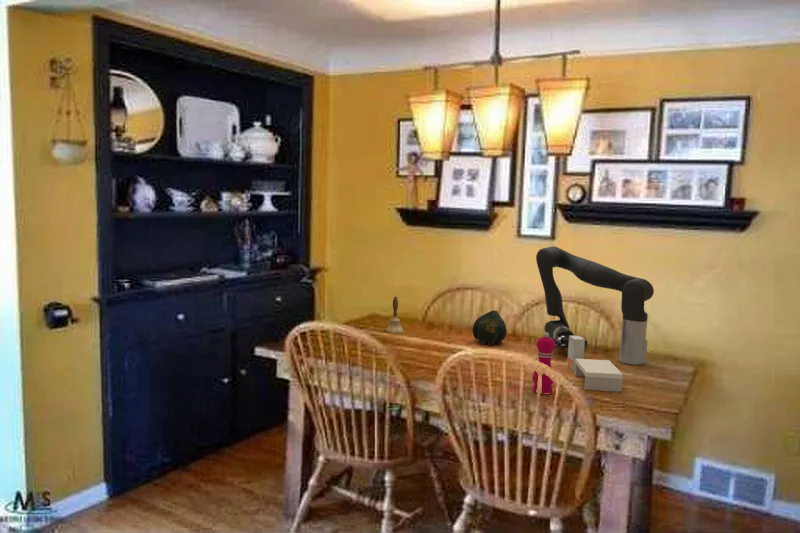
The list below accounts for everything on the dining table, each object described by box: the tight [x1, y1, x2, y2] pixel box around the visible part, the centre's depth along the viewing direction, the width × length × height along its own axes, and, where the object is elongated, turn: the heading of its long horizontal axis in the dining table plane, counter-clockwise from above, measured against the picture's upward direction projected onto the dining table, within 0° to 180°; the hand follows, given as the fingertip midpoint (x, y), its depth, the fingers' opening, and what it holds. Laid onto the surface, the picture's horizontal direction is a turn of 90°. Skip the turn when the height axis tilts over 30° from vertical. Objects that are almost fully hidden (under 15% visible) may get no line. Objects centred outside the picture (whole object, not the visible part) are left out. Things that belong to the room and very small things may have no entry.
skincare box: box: [566, 335, 585, 371], centre depth 242 cm, size 6×4×12 cm
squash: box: [471, 310, 507, 346], centre depth 278 cm, size 14×15×15 cm
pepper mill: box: [532, 332, 556, 395], centre depth 211 cm, size 7×7×20 cm
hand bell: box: [385, 296, 404, 334], centre depth 294 cm, size 8×8×16 cm
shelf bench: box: [573, 358, 624, 393], centre depth 225 cm, size 12×18×6 cm, turn 176°
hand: (571, 345), depth 251 cm, fingers open, 8 cm apart
